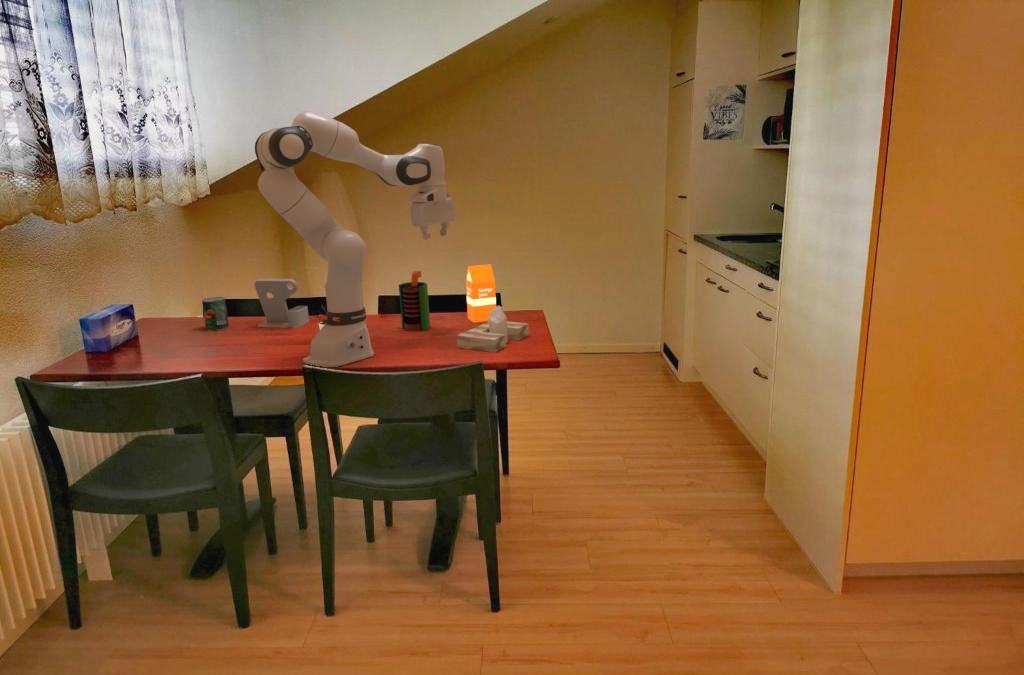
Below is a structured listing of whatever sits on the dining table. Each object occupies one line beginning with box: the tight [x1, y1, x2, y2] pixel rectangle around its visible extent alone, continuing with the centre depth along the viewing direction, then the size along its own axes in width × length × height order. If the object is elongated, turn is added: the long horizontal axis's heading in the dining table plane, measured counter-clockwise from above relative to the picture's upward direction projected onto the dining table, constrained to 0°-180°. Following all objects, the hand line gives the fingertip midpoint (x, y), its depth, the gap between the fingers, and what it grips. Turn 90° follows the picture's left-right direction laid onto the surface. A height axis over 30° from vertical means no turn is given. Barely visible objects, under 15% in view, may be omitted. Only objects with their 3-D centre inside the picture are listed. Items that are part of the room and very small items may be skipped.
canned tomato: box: [201, 296, 230, 332], centre depth 267 cm, size 8×8×11 cm
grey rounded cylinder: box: [488, 305, 509, 344], centre depth 236 cm, size 6×12×6 cm
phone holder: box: [254, 278, 310, 328], centre depth 268 cm, size 17×10×18 cm, turn 78°
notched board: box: [456, 321, 530, 353], centre depth 238 cm, size 22×14×4 cm, turn 150°
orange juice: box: [465, 263, 497, 323], centre depth 267 cm, size 8×9×20 cm
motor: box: [398, 270, 431, 332], centre depth 257 cm, size 10×9×20 cm
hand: (435, 237), depth 240 cm, fingers open, 8 cm apart
